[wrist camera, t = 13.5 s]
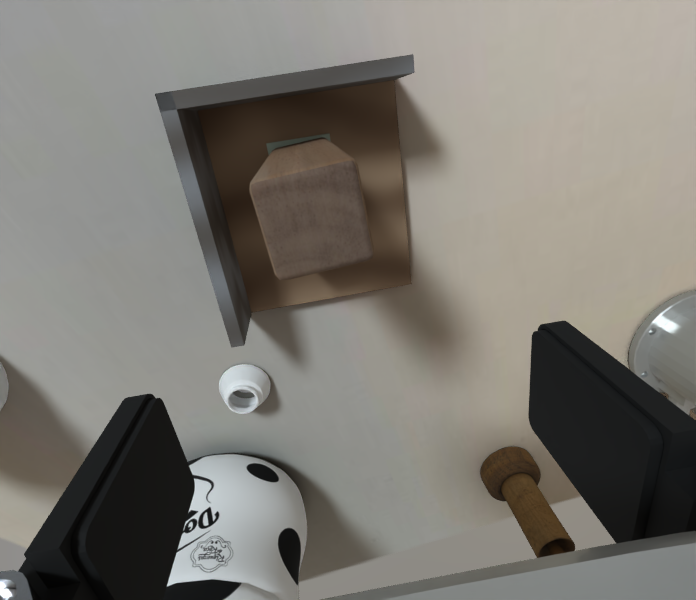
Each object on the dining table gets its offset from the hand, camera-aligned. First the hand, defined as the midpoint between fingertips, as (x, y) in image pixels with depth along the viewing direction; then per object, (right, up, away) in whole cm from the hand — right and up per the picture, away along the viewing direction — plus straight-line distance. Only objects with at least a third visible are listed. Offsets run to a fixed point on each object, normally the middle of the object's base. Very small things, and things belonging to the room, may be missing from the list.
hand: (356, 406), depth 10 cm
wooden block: (-3, +11, +24) cm, 27 cm away
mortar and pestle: (+19, -18, +41) cm, 49 cm away
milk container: (-14, -20, +38) cm, 45 cm away
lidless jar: (-11, -6, +32) cm, 34 cm away
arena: (-4, +11, +25) cm, 28 cm away
